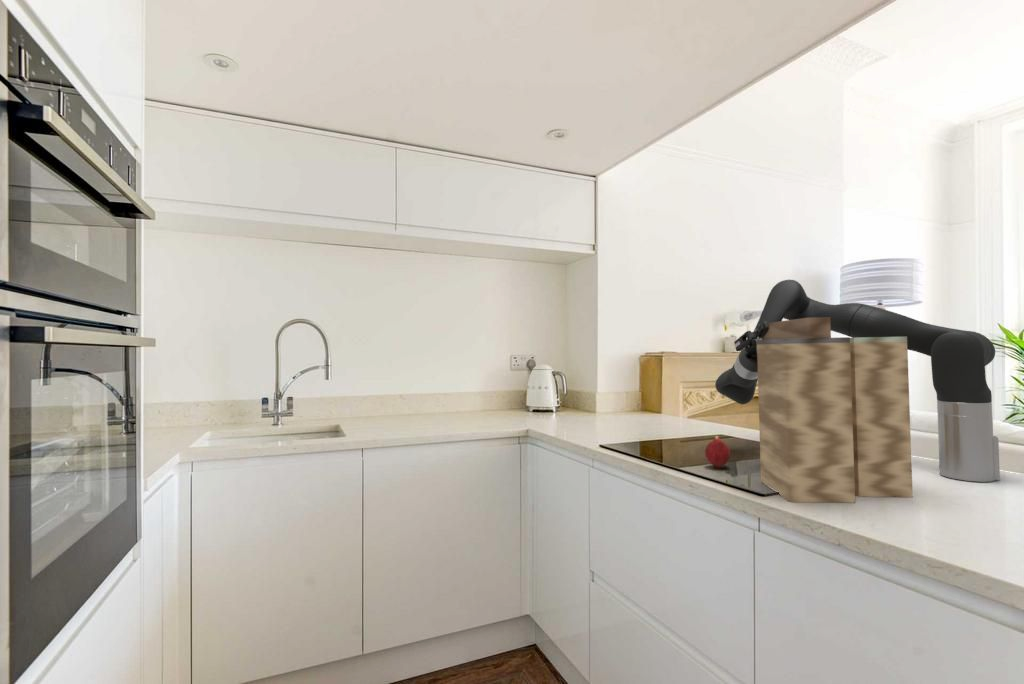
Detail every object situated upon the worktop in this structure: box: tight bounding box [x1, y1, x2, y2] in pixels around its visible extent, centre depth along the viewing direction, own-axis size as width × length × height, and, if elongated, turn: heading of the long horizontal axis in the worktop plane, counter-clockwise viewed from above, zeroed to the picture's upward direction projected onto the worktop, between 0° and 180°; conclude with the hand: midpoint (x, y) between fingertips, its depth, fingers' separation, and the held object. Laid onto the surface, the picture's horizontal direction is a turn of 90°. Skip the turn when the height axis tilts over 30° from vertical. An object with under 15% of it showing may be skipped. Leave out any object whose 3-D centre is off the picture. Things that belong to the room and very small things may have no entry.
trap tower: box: [757, 336, 856, 504], centre depth 103 cm, size 12×14×32 cm
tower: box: [850, 336, 914, 498], centre depth 105 cm, size 10×14×32 cm
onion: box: [704, 435, 731, 469], centre depth 125 cm, size 6×6×8 cm
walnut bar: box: [759, 317, 832, 340], centre depth 107 cm, size 4×24×4 cm, turn 174°
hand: (777, 324), depth 114 cm, fingers open, 4 cm apart
